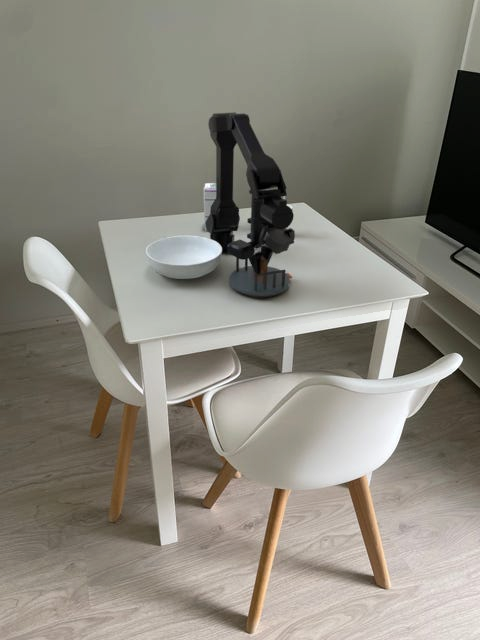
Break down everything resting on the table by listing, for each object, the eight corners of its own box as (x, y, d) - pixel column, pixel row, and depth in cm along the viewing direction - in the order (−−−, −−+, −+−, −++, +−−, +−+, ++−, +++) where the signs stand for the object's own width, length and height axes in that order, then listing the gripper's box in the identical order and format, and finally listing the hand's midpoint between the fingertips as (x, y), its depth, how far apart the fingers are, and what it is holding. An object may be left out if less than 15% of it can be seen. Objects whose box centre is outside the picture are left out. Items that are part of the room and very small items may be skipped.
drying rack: (243, 300, 129) (244, 273, 126) (220, 273, 142) (220, 248, 138) (304, 289, 135) (306, 263, 131) (277, 264, 148) (278, 240, 144)
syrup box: (221, 231, 172) (222, 188, 164) (203, 231, 172) (203, 187, 164) (222, 225, 177) (222, 183, 169) (205, 224, 177) (204, 182, 169)
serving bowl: (229, 260, 153) (229, 238, 149) (211, 292, 135) (211, 268, 132) (161, 252, 156) (160, 231, 153) (135, 283, 139) (133, 260, 135)
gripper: (258, 234, 118) (256, 294, 126) (311, 216, 129) (306, 272, 137) (226, 220, 125) (225, 278, 133) (279, 204, 136) (276, 259, 144)
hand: (260, 272), depth 137 cm, fingers closed on drying rack, 2 cm apart
